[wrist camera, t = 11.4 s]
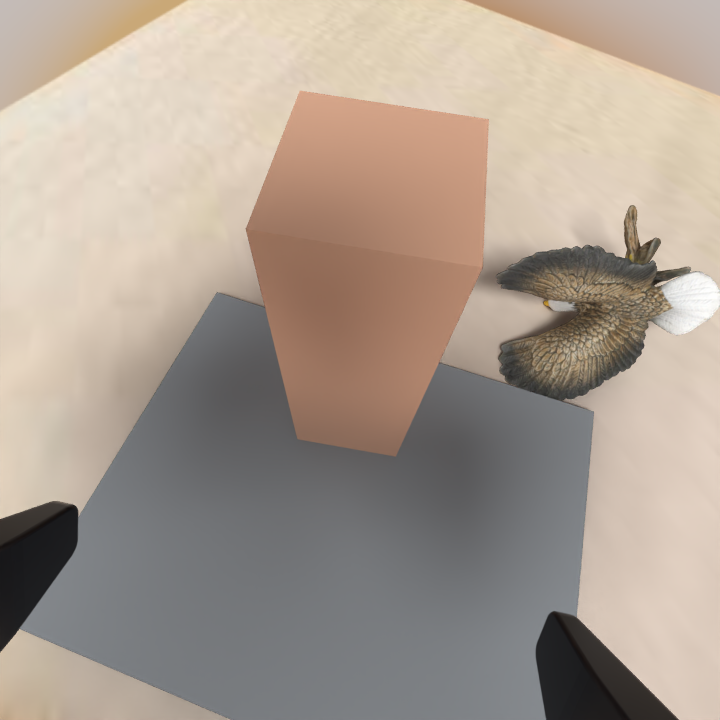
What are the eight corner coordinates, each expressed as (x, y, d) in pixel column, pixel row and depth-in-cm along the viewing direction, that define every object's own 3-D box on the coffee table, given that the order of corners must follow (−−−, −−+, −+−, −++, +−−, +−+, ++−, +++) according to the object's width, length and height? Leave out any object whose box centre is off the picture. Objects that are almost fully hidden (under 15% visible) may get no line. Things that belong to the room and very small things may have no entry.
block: (395, 456, 20) (482, 267, 8) (297, 439, 20) (246, 229, 8) (407, 368, 22) (488, 119, 10) (318, 353, 22) (300, 90, 10)
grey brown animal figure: (563, 229, 26) (457, 274, 22) (705, 179, 20) (593, 229, 15) (599, 348, 27) (505, 413, 23) (744, 337, 21) (651, 424, 16)
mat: (550, 852, 14) (556, 859, 14) (18, 624, 16) (11, 625, 16) (589, 414, 21) (593, 411, 21) (218, 296, 24) (217, 292, 23)
